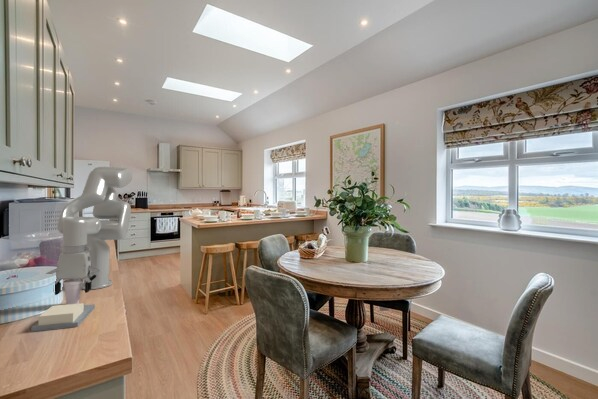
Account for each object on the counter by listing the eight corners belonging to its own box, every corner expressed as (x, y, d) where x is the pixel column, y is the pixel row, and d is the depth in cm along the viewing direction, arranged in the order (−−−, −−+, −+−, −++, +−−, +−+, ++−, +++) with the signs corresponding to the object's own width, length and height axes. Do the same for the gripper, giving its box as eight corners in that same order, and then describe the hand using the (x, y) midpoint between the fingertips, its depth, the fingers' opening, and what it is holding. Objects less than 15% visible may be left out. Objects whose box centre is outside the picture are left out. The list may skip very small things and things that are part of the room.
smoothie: (70, 308, 104) (72, 272, 104) (57, 306, 105) (58, 270, 105) (87, 302, 110) (88, 268, 110) (74, 300, 111) (75, 266, 111)
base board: (55, 311, 101) (56, 299, 101) (94, 308, 105) (94, 296, 105) (31, 331, 86) (31, 317, 86) (77, 326, 90) (78, 313, 90)
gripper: (103, 247, 114) (101, 288, 114) (52, 248, 108) (50, 291, 108) (97, 250, 107) (95, 293, 107) (42, 252, 101) (39, 298, 101)
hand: (72, 292), depth 107 cm, fingers open, 9 cm apart
